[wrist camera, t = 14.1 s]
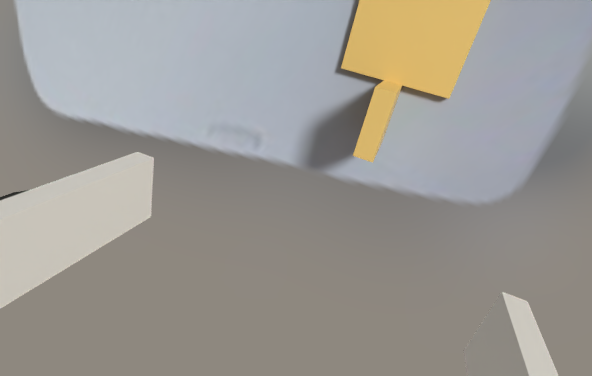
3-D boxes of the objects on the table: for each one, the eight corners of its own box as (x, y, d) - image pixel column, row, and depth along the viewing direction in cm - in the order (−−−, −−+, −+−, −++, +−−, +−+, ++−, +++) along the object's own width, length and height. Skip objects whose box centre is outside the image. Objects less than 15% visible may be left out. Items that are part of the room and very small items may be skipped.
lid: (326, 123, 38) (305, 139, 31) (400, -143, 28) (393, -207, 21) (424, 154, 36) (424, 179, 29) (541, -122, 26) (585, -187, 19)
